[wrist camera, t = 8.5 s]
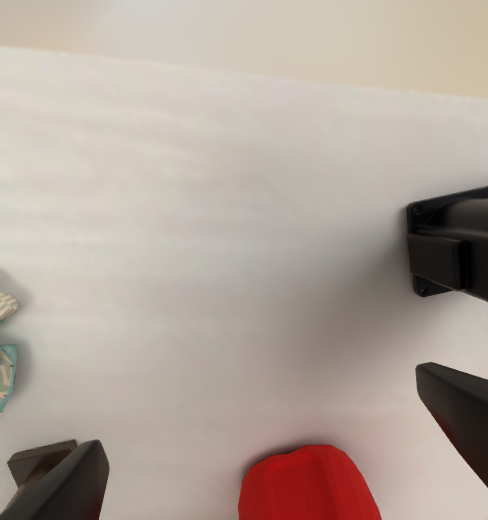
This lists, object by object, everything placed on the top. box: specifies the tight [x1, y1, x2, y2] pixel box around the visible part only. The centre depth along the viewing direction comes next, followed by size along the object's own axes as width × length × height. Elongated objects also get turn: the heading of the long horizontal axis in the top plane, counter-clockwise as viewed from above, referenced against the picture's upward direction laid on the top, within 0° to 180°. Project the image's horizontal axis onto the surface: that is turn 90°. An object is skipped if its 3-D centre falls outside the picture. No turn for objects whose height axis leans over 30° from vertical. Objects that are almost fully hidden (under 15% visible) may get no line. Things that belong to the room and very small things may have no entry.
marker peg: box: [1, 440, 78, 514], centre depth 19 cm, size 4×4×5 cm
